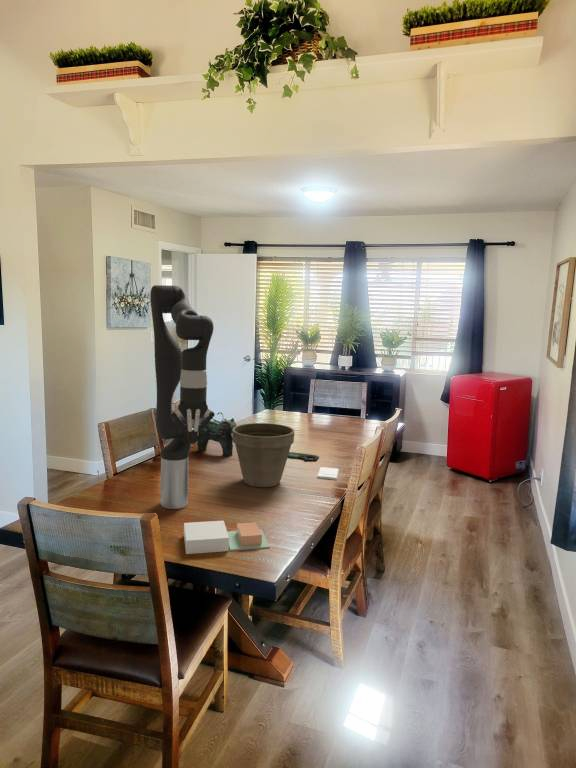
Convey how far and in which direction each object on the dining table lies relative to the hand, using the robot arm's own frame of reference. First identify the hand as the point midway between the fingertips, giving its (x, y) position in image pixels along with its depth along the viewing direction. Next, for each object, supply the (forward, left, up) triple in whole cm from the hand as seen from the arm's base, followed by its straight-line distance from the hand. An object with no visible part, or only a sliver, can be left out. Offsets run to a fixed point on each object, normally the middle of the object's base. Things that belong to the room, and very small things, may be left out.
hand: (192, 443), depth 150 cm
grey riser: (+5, +4, -29) cm, 30 cm away
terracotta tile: (+5, +17, -27) cm, 32 cm away
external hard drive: (-51, +61, -30) cm, 85 cm away
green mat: (+5, +16, -29) cm, 34 cm away
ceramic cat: (-87, +17, -29) cm, 93 cm away
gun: (-76, +56, -30) cm, 99 cm away
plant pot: (-46, +31, -29) cm, 63 cm away
